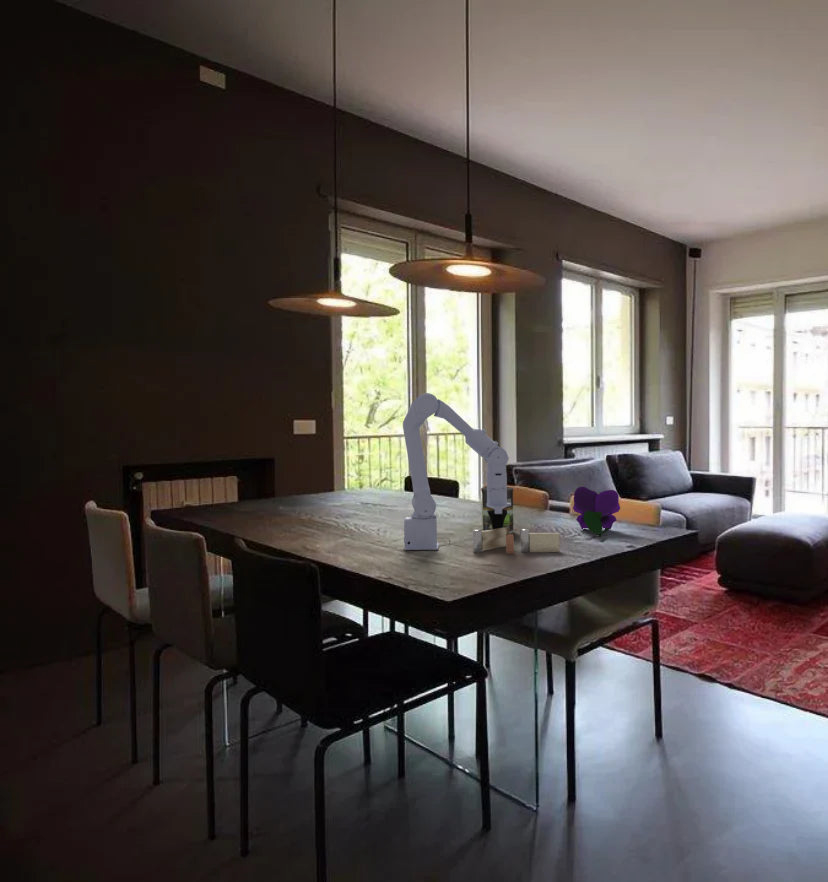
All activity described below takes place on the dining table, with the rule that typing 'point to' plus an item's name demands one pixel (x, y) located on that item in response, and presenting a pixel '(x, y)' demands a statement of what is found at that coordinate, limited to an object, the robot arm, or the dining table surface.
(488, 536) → the gate leaf
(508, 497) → the coffee can
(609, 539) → the dining table surface
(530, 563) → the dining table surface
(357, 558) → the dining table surface
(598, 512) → the flower
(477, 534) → the gate frame
